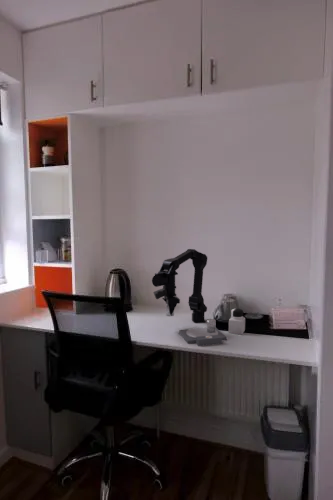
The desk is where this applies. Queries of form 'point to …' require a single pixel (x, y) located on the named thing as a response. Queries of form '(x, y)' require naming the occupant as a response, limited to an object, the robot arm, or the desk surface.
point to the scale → (202, 336)
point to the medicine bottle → (237, 322)
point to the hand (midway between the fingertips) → (169, 313)
